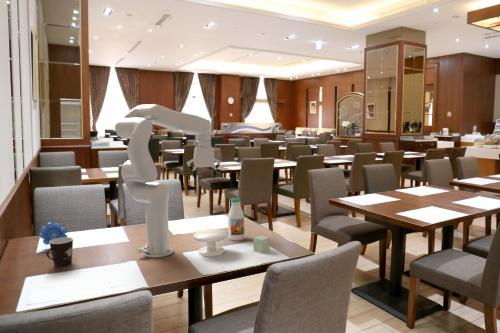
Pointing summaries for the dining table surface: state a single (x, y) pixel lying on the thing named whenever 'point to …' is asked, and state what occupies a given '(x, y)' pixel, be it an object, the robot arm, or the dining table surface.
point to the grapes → (52, 232)
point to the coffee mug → (61, 251)
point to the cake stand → (211, 241)
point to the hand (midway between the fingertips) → (204, 178)
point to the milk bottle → (235, 221)
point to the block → (261, 244)
